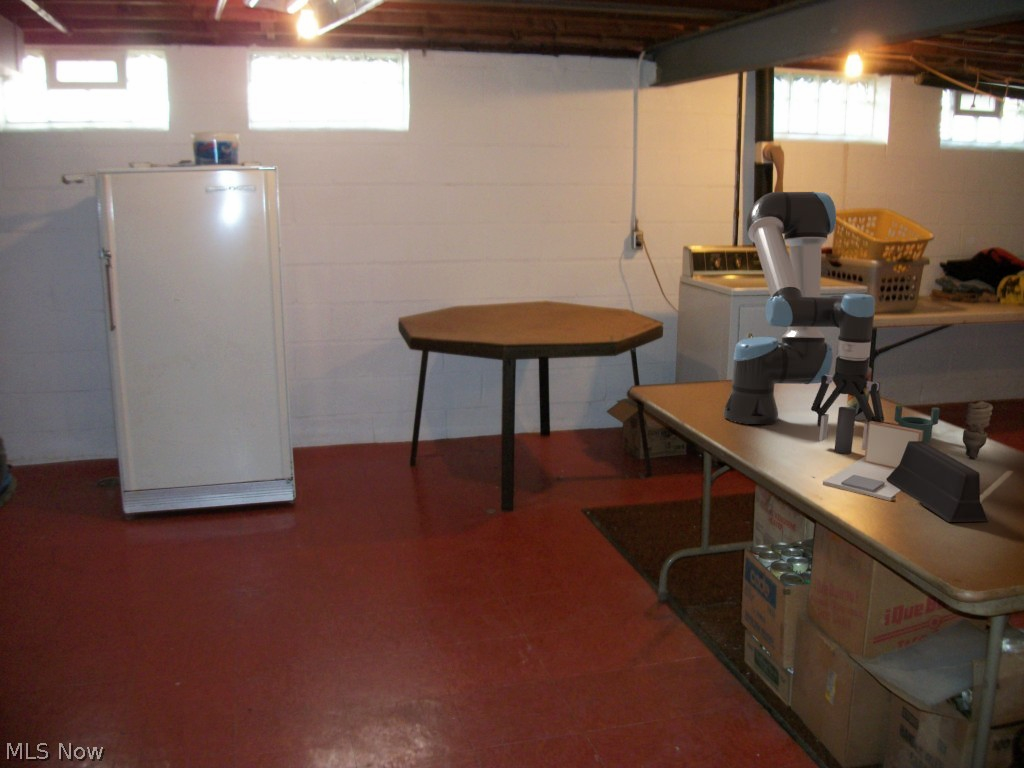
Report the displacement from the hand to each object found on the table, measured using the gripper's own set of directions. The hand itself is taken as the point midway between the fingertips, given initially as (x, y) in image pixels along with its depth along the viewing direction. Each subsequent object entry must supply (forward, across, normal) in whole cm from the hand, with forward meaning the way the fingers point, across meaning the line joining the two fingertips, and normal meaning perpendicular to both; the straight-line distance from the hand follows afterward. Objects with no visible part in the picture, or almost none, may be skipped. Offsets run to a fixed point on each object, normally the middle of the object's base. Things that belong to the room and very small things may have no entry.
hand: (843, 444), depth 217 cm
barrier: (+2, +28, -19) cm, 33 cm away
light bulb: (+3, +25, +19) cm, 32 cm away
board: (+3, +13, -12) cm, 18 cm away
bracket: (+3, +8, +28) cm, 29 cm away
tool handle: (+3, 0, 0) cm, 3 cm away
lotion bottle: (+3, -11, +37) cm, 39 cm away
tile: (+2, +13, -4) cm, 14 cm away
